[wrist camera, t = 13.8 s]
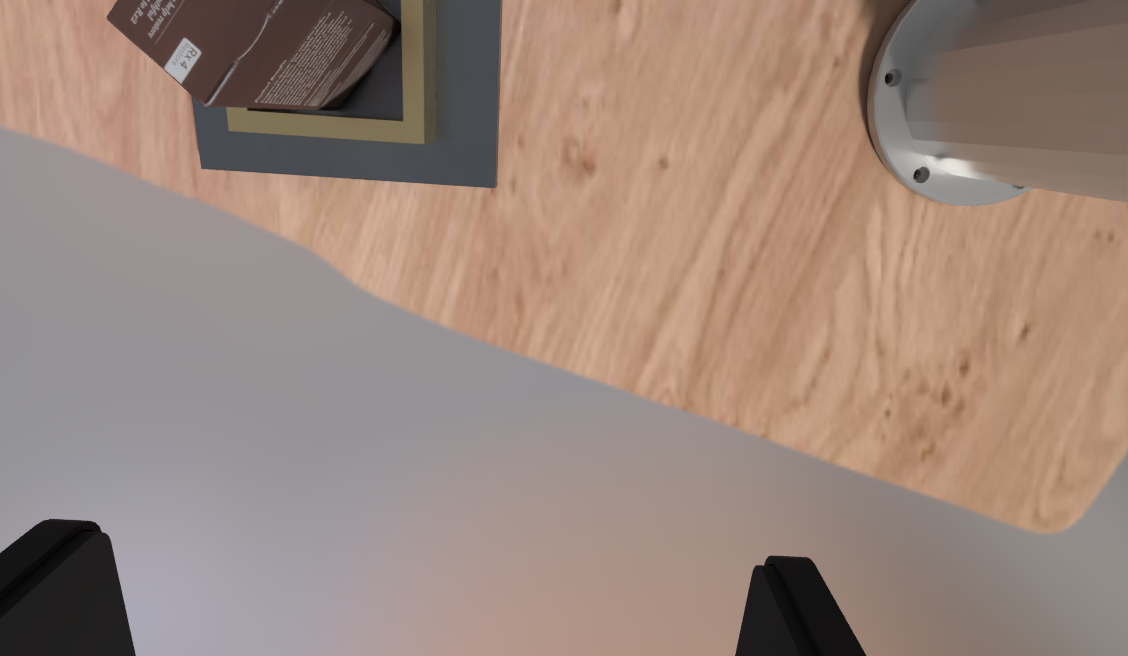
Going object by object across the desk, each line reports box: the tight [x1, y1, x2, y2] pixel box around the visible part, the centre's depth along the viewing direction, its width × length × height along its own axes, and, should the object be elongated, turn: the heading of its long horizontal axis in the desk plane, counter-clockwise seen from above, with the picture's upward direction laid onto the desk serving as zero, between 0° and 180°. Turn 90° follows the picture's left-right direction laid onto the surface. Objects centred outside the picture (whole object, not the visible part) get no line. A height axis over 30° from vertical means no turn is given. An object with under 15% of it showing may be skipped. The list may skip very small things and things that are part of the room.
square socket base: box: [192, 0, 502, 188], centre depth 30 cm, size 16×14×4 cm
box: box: [107, 0, 401, 111], centre depth 26 cm, size 6×4×12 cm
